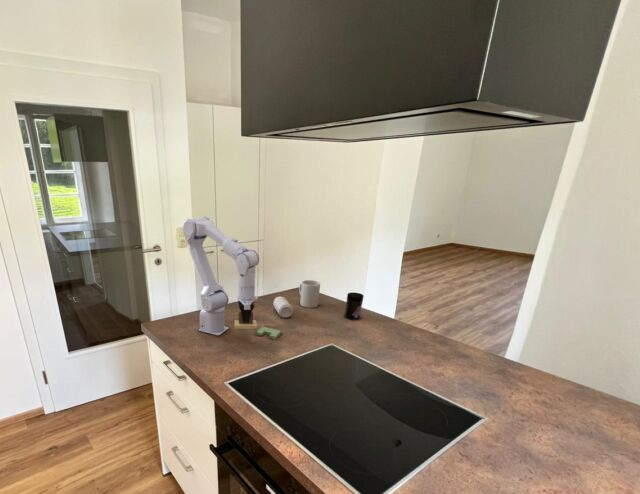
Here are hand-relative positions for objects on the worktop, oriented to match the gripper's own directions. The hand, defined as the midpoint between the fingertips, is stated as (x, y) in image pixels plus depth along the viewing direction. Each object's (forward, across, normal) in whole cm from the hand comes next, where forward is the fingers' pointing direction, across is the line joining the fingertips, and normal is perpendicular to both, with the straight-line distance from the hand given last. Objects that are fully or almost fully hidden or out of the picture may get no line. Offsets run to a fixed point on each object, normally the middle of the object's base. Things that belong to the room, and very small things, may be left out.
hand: (245, 320), depth 131 cm
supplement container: (+9, +24, -48) cm, 55 cm away
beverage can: (+5, +22, -19) cm, 29 cm away
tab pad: (+2, +1, 0) cm, 2 cm away
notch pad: (+9, +7, -10) cm, 14 cm away
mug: (+9, +41, -32) cm, 52 cm away
